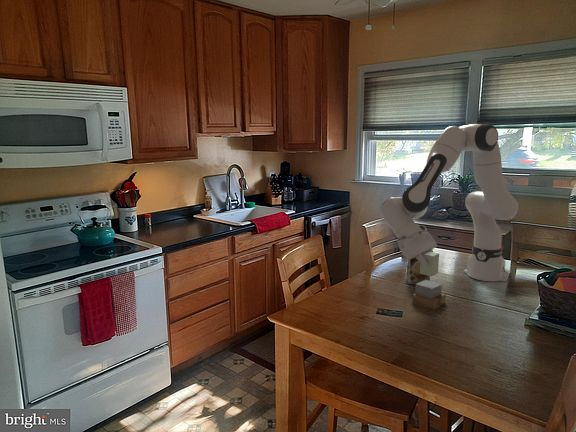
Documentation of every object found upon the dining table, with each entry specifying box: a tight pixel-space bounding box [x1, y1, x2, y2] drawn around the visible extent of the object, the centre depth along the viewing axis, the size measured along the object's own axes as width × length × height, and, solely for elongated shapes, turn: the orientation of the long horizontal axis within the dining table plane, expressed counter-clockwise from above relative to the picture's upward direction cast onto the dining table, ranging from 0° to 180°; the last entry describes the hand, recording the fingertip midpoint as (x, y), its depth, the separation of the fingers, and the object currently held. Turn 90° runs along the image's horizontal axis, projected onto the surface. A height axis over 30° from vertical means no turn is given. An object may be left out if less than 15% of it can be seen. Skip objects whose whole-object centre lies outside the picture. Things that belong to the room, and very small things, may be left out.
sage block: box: [420, 251, 440, 277], centre depth 157 cm, size 5×5×8 cm
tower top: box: [414, 280, 443, 299], centre depth 159 cm, size 7×7×4 cm
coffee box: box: [405, 257, 431, 285], centre depth 181 cm, size 9×6×16 cm
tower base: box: [412, 292, 447, 311], centre depth 159 cm, size 9×9×4 cm
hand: (431, 262), depth 156 cm, fingers closed on sage block, 5 cm apart
